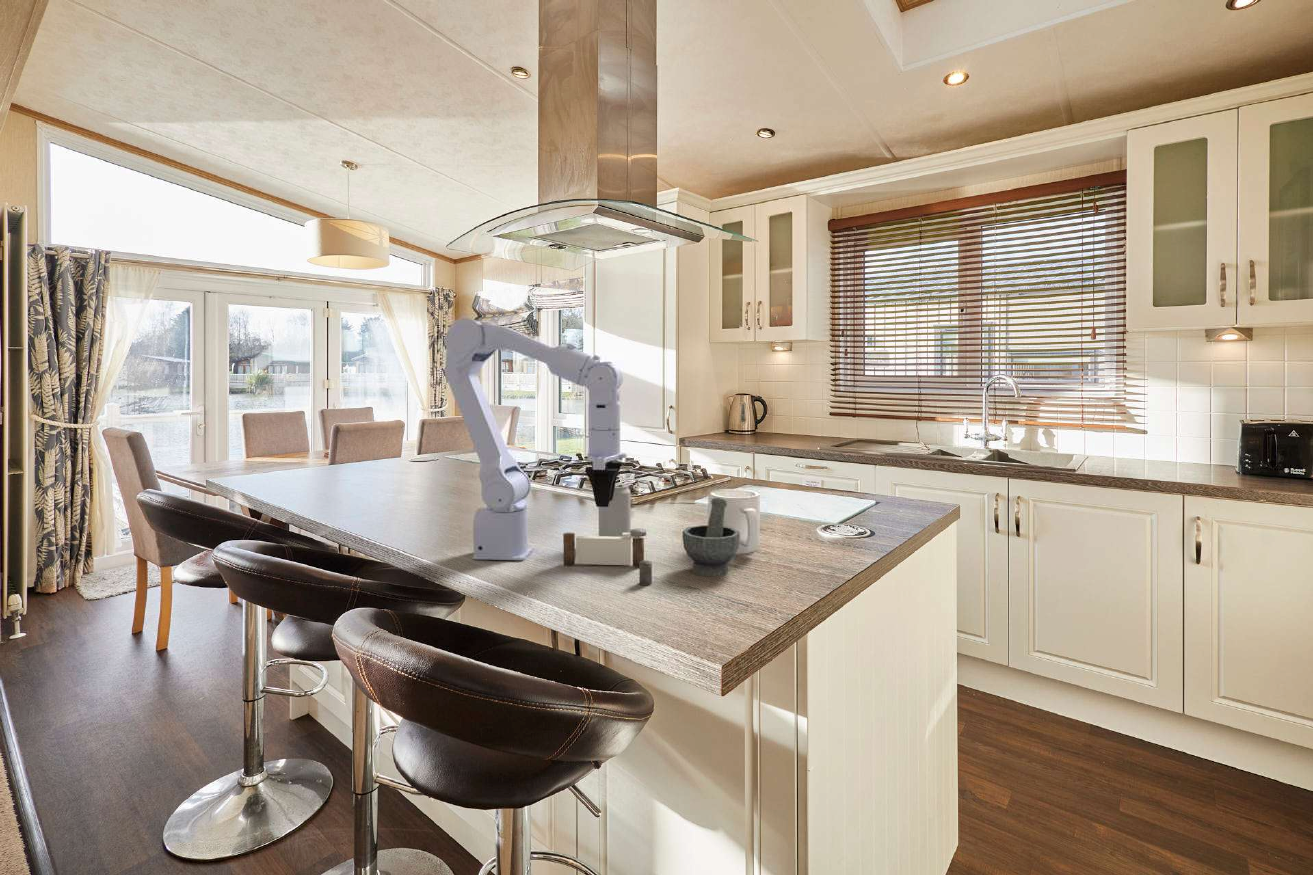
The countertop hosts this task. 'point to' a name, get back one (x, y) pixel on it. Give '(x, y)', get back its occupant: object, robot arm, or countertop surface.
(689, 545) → the mortar and pestle
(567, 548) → the posts
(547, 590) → the countertop surface
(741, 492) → the mug
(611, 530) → the beverage can
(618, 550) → the gate
